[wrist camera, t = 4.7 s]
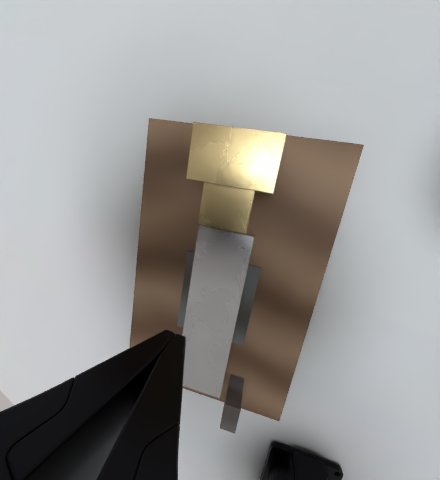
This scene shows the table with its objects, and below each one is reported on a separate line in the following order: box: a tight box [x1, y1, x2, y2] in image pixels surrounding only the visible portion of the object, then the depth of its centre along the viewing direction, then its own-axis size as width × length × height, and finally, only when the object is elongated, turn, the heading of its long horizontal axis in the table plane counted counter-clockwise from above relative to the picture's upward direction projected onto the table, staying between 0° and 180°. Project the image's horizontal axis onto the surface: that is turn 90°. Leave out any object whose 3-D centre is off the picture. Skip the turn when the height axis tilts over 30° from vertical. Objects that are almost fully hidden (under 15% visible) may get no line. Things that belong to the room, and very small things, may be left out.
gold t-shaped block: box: [186, 122, 286, 233], centre depth 13 cm, size 6×5×3 cm
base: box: [130, 118, 364, 433], centre depth 16 cm, size 23×15×4 cm, turn 170°
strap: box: [182, 224, 255, 398], centre depth 17 cm, size 14×4×1 cm, turn 170°
